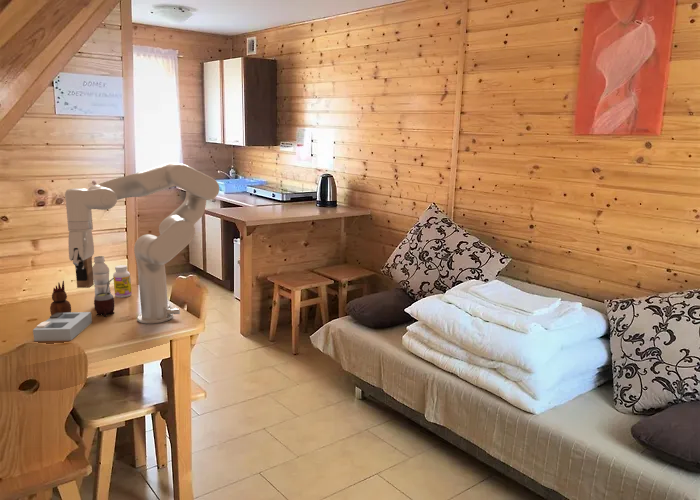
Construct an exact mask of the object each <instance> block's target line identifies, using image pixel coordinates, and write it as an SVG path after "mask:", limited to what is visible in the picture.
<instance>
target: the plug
mask: <svg viewBox="0 0 700 500" xmlns="http://www.w3.org/2000/svg"><path fill="white" fill-rule="evenodd" d="M79 260H82V259H81V258H79ZM92 261H93V256H91V257H89V258H87V259H86V260H85V269H86V271H87V280H86V281H77V276H76V275H75V279H76V280H75V281H76V288H77V289H84V288H85V289H90V288H91V287H93V286H94V280H93V268H92V267H93V262H92ZM80 263H81V264H82V262H80Z"/></svg>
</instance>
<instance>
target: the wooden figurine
mask: <svg viewBox="0 0 700 500" xmlns="http://www.w3.org/2000/svg"><path fill="white" fill-rule="evenodd" d="M67 297H68V295H67V291H65V281H64V280H62V284H60V282H58V285H57V284H56V285H55V287H53V291H52V293H51V299H52V301H51V304H50V306H49V310H50V311H49V312H50V316H52V315H53V314H54V313H65V312H72V305H71V303H70V301H68V298H67Z"/></svg>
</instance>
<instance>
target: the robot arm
mask: <svg viewBox="0 0 700 500" xmlns="http://www.w3.org/2000/svg"><path fill="white" fill-rule="evenodd" d="M172 187H177V188H180V189H182V190H184V191H185V198H184V200H183V202H182V203H181V204H180V205H179V206H178V207H177V208H175V210H174V211H172V212H171V213H170V214H169V215H168V216H166V217H165V218H164V219H163V220H162V221H161V222H160V223H159V225H158V233H159V234H160V235H158V236H156V235H154V234H148V233H147V234H143V235H141V236H139V237H137V239H136V241H135V243H134V246H133V247H134V248H133V251H134V257H135V258H134V259H135V262H136V266H137V267H136V268H137V276H138V287H139V288H138V289H139V300H140V301H139V302H140V311H141V312H140V313H141V314H138V316H137V322H139V323H141V324H147V325H148V324H150V325H151V324H161V323H164V322H168V321H170V320H171V319H173V318H174V315H180V314H181V310H180V309H179V308H178V307H173V308H172V307H171V304H169V302H168V301H169V300H168V288H167V273H166V266H165V264H167V263H169V262H170V261H171V260H172V259H174V258H175V257H177V256H178V254H179V253H180V252H181V251H182V250H184V249H185V248H186V247H187V246H189V244H190V243H191V242H192V240H193V239H194V237H195V234H196V230H195V229H196V227H195V226H194V225H196V223H198V221H200V219H201V218H202V217H203V215H204V214H205V211H206V206H207V201H211V200H214V199H215V198H216V197H217V196H218V195H219V193H220V186H219V183H218V181H217V180H216V179H215V178H213V177H212V176H209V175H208V174H205V173H203V172H202V171H199V170H198V169H195V168H193V167H192V166H189V165H187V164H184V163H181V162H167V163H164V164H160V165H157V166H154V167H151V168H149V169H146V170H142V171H139V172H136V173H131V174H128V175H125V176H122V177H118V178H113V179H110V180H106V181H103V182H100V183H97V184H95V185H92V186H90V187H89V188H83V187H82V188H76V187H75V188H69V189H66V190H65V192H64V198H65V210H66V219H67V231H68V240H67V241H68V259H69V261H72V264H73V265H74V269H75V277H76V276H77V280H76V282H77V281H86V280H87V271H86V269H85V260H86V259H87V258H89V257H91V256H92V257H93V256H94V255H95V245H94V237H93V230H94V226H93V216H92V215H93V214H92V210H101V211H106V210H110V209H113V208H114V207H115V206H116V204H117V202H118V200H119V201H120V200H122V199H128V198H141V197H146V196H150V195H152V194H156V193H158V192H160V191H164V190H166V189H170V188H172ZM79 258H81V259H82V260H79ZM80 262H82V264H81V263H80Z"/></svg>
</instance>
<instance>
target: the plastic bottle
mask: <svg viewBox="0 0 700 500" xmlns="http://www.w3.org/2000/svg"><path fill="white" fill-rule="evenodd" d="M105 261H106V260H105V256H103V255H100V256H99V255H98V256H94V257H93V262H94V264H93V265H92V268H93V281H94V285H93V286H94V297H93V299H94V298H95V296H96V295H97V294H99V293H106V289H107V283H108V282H109V281H110V268H109V266H108V265H107V264H106V262H105ZM111 292H112V291H111V287H110V286H109V287H108V291H107V293H111ZM111 294H112V293H111Z"/></svg>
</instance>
